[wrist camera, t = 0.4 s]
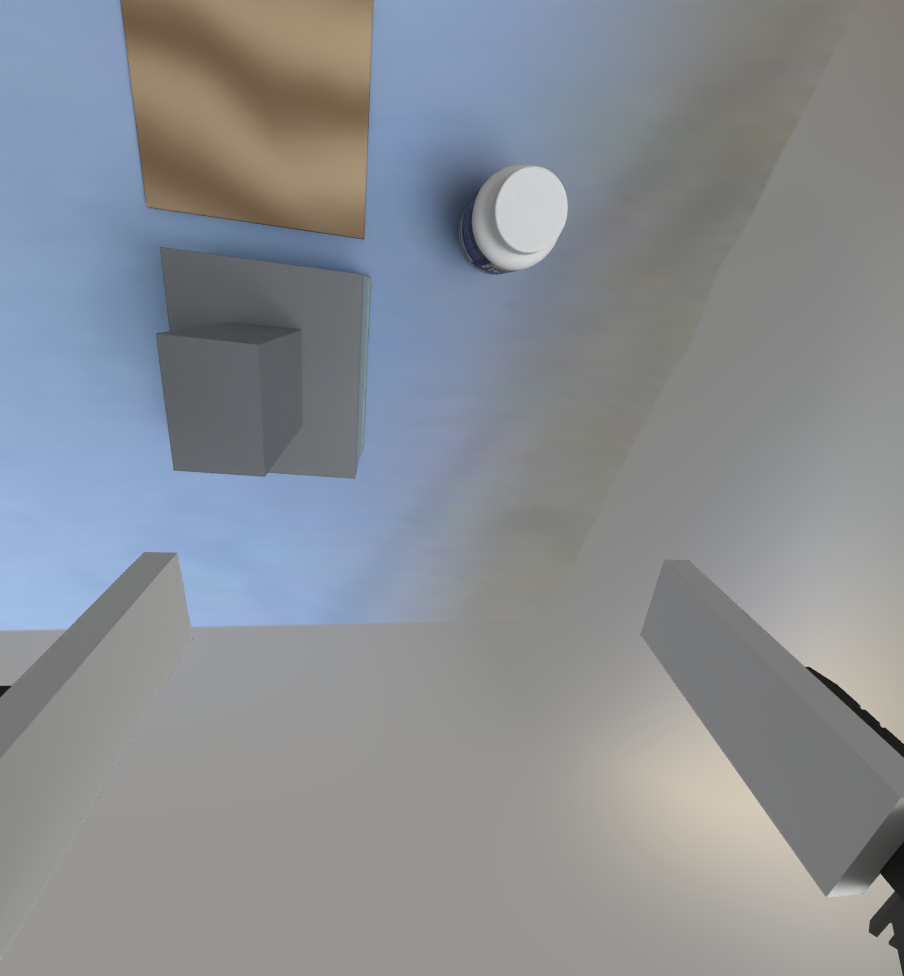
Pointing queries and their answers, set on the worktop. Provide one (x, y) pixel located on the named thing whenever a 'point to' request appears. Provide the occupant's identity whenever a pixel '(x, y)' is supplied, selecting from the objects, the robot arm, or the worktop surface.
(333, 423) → the lid
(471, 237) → the pill bottle
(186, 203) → the plate
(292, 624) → the worktop surface
